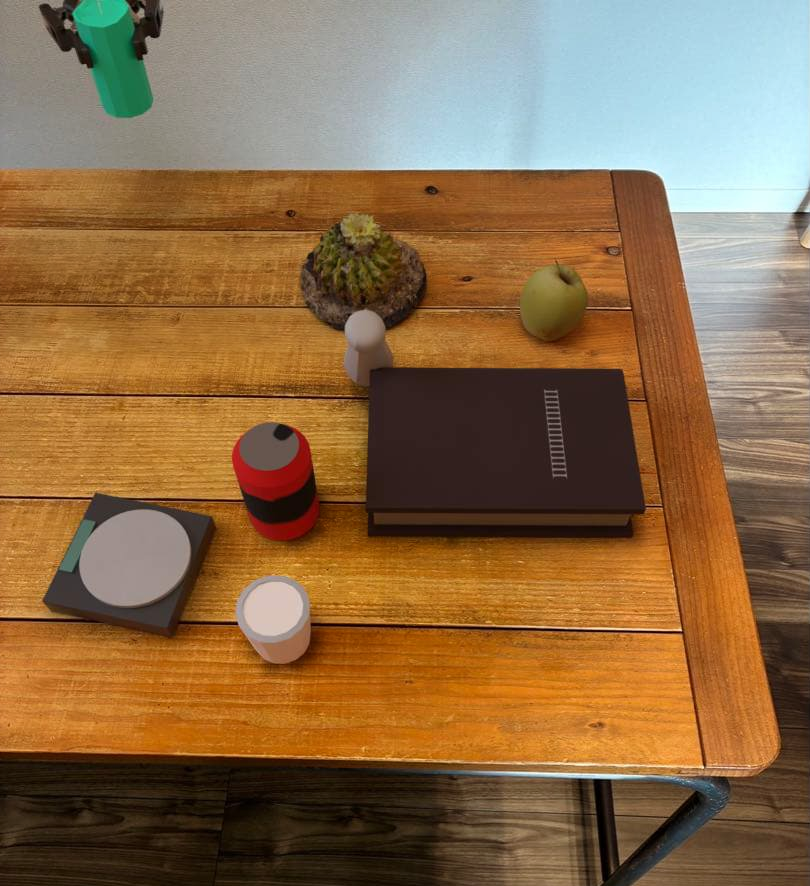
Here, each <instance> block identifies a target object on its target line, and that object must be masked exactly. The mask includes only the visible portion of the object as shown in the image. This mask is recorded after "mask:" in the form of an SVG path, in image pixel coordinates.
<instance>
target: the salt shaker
mask: <svg viewBox="0 0 810 886" xmlns="http://www.w3.org/2000/svg"><path fill="white" fill-rule="evenodd" d="M386 329H387V327H385V325H384V323H383V320H382V318H381V317H380V316H379V315H377V314H376V313H375V312H372V311H369V310H362V311H357V312H355V313H354V314H352V315H351V316H350V317H349V319H348V321H347V322H346V324H345V329H344V333H343V335H344V337H345V340H346V342H347V348H346V350H345V352H344V355H343V368H344V370H345V372H346V374H347V377H348V378H349V379H350V380H351V381H352V382H354V383H355V384H356V385H359V386H361V387H366V388H369V385H370V370H376V369H377V368H383V367H394V362H395V361H394V358H395V357H394V354H393V352H392V350H391V348H390V346H389V344H388V343H387V340H386V333H387V332H386Z"/></svg>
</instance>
